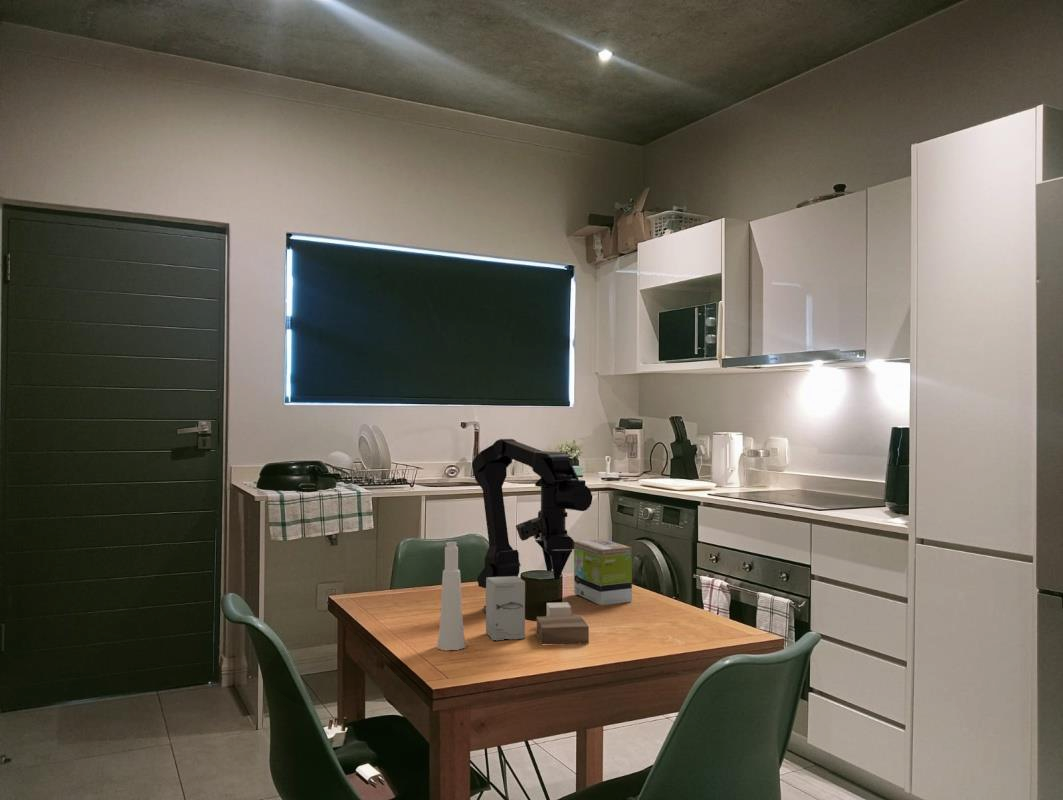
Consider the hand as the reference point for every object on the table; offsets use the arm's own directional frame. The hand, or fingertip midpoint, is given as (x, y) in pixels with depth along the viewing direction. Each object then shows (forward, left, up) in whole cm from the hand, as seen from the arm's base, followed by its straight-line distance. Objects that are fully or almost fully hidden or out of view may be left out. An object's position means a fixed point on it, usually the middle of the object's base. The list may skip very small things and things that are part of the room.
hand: (552, 575), depth 189 cm
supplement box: (+6, -11, -12) cm, 18 cm away
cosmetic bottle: (+14, -23, -12) cm, 30 cm away
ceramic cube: (-1, +2, -12) cm, 12 cm away
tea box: (-29, +18, -12) cm, 36 cm away
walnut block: (+9, +1, -13) cm, 15 cm away
